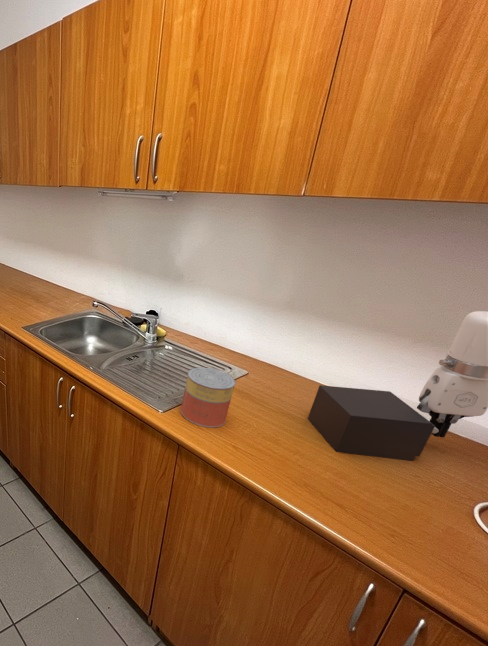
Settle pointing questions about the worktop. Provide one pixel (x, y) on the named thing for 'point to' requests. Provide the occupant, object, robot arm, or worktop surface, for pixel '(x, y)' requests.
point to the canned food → (207, 397)
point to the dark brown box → (368, 422)
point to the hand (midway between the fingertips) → (434, 433)
